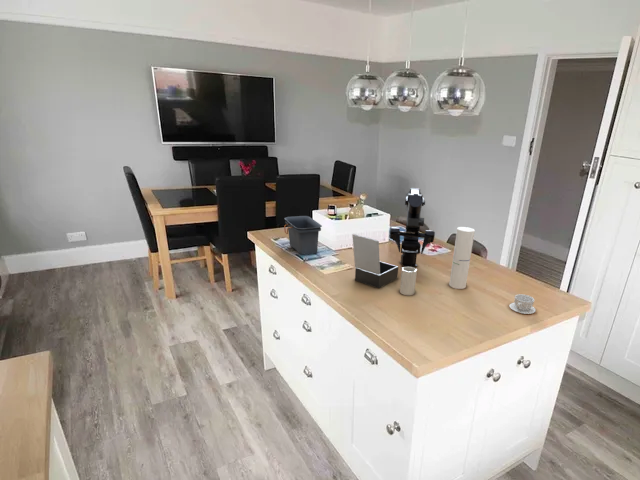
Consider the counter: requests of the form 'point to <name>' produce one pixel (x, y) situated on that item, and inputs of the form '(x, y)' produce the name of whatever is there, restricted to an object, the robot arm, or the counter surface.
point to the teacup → (523, 304)
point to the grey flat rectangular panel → (366, 254)
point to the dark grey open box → (375, 280)
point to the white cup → (408, 280)
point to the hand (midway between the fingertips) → (410, 252)
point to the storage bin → (303, 234)
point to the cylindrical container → (461, 257)
